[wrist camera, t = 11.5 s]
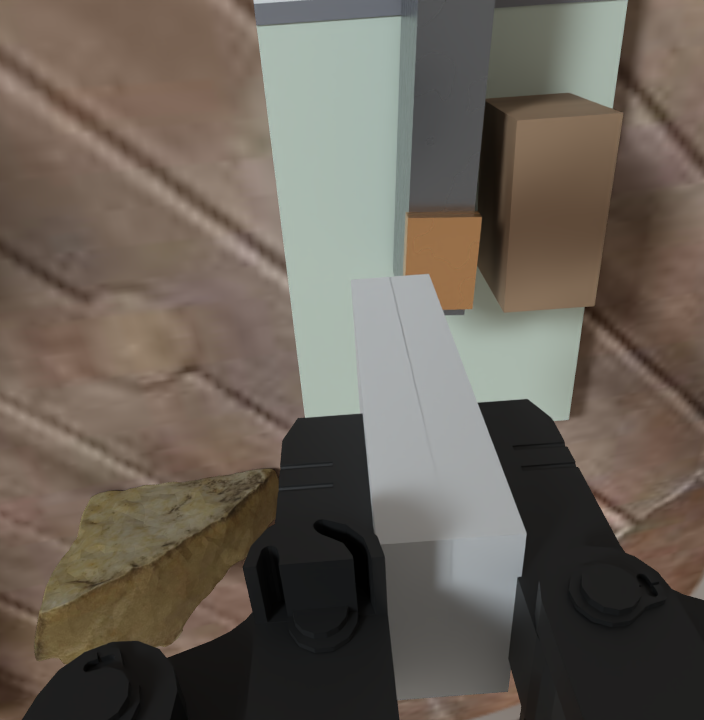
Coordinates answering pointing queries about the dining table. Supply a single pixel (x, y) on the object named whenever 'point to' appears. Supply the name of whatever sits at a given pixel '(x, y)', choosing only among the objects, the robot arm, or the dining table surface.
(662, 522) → the dining table surface
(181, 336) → the dining table surface
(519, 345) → the door plate
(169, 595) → the rock
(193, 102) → the dining table surface
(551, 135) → the block
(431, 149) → the bar
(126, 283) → the dining table surface
